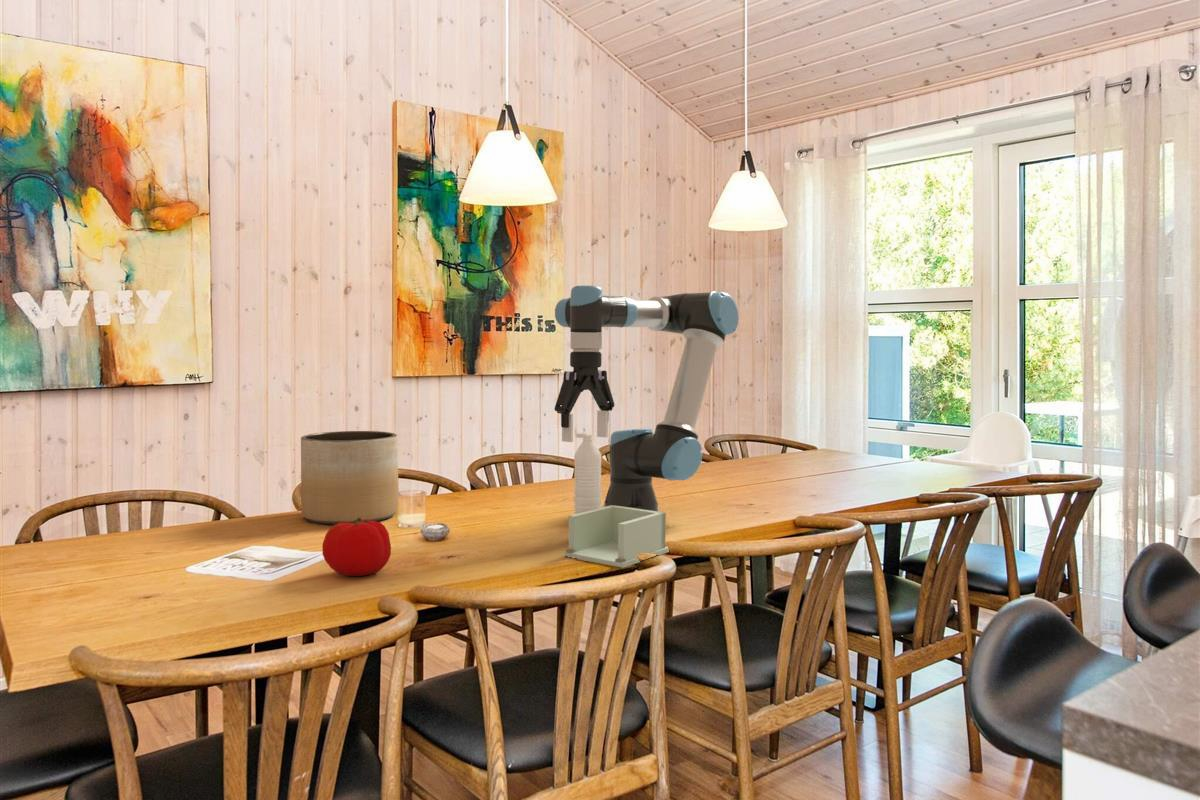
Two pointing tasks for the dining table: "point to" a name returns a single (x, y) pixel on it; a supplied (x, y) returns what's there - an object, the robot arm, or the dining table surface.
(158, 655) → the dining table surface
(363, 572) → the tomato
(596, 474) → the water bottle
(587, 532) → the u rest
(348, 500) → the planter
